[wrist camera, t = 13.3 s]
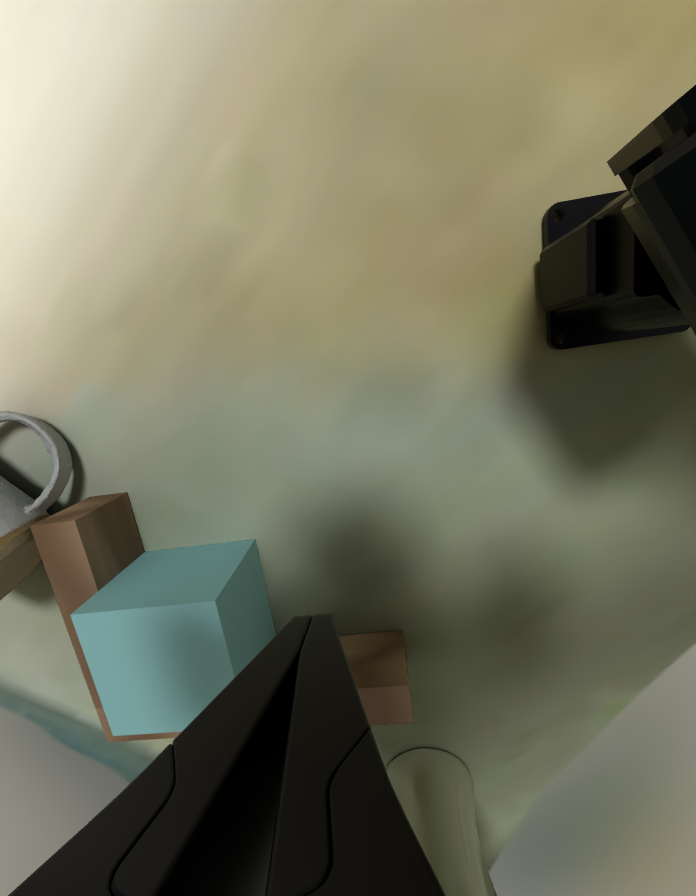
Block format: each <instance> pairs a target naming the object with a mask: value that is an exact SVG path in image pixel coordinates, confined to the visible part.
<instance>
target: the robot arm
mask: <svg viewBox="0 0 696 896" xmlns="http://www.w3.org/2000/svg"><path fill="white" fill-rule="evenodd" d="M607 163H608V165H609V167H610V168H611V170H612V172H613V173H614V175H615V176H616V175H618V174H619V176H620V178H621V179H622V181H623V183H624V184H625V186H626V188H627V190H624V191H618V192H613V193H607V194H602V195H596V196H591V197H585V198H580V199H574V200H569V201H563V202H558V203H556V204H554V205H553V206H551V207H550V208H549V209H548V210H547V211H546V213H545V214H544V219H543V224H544V250H543V251H542V252H541V254H540V275H541V306H542V308H543V309H544V310H545V311H546V323H547V343H548V346H549V347H550V348H552V349H554V350H561V349H568V348H575V347H582V346H588V345H595V344H602V343H609V342H615V341H622V340H629V339H636V338H642V337H649V336H656V335H663V334H669V333H676V332H682V331H685V330H687V329H688V328H690V327H691V328H692V330H693V332H694V333H695V335H696V85H695V86H694V87H692V88H691V89H690V90H689V91H688V92H686V93H685V94H684V95H683V96H682V97H681V98H679V99H678V100H677V101H676V102H675V103H673V104H672V105H671V106H670V107H669V108H668V109H666V110H665V111H664V112H663V113H662V114H661V115H659V116H658V117H657V118H656V119H655V120H654V121H652V122H651V123H650V124H649V125H648V126H647V127H646V128H645V129H643V130H642V131H641V132H640V133H639V134H638V135H637V136H636V137H634V138H633V139H632V140H631V141H630V142H629V143H628V144H627V145H625V146H624V147H623V148H622V149H621V150H620V151H619V152H618V153H616V154H615V155H614V156H613V157H612V158H611V159H610V160H609V161H607ZM553 212H558V213H559V214H560V220H559V221H556V220H555V219H554V218H553ZM678 325H679V326H678ZM559 334H560V335H561V336H562V337H563V340H562V342H561V343H560V344H558V343H557V342H556V337H557V336H558V335H559ZM8 896H446V895H445V893H444V891H443V889H442V887H441V885H440V883H439V881H438V879H437V877H436V875H435V873H434V871H433V869H432V867H431V865H430V863H429V861H428V859H427V857H426V855H425V853H424V851H423V849H422V847H421V845H420V843H419V841H418V839H417V837H416V835H415V833H414V831H413V829H412V827H411V825H410V823H409V821H408V819H407V817H406V815H405V813H404V810H403V808H402V806H401V804H400V802H399V800H398V797H397V795H396V793H395V791H394V789H393V787H392V784H391V782H390V780H389V777H388V774H387V772H386V769H385V767H384V764H383V761H382V759H381V756H380V754H379V751H378V748H377V745H376V742H375V739H374V736H373V734H372V732H371V728H370V725H369V722H368V719H367V716H366V713H365V710H364V707H363V704H362V701H361V698H360V696H359V693H358V690H357V687H356V684H355V681H354V678H353V675H352V672H351V669H350V666H349V663H348V660H347V657H346V654H345V652H344V649H343V646H342V643H341V640H340V637H339V634H338V631H337V628H336V625H335V622H334V619H333V616H332V615H331V614H330V613H327V614H316V615H314V616H313V617H312V616H311V615H305V616H296V617H294V618H292V619H291V620H290V621H289V622H288V623H287V624H286V626H285V627H284V628H283V629H282V630H281V631H280V632H279V633H278V634H277V635H276V636H275V637H274V638H273V639H272V640H271V641H270V642H269V643H268V644H267V645H266V646H265V647H264V648H263V649H262V650H261V651H260V652H259V653H258V654H257V655H256V656H255V657H254V658H253V659H252V660H251V661H250V662H249V663H248V664H247V665H246V666H245V667H244V669H243V670H242V671H241V672H240V673H239V674H238V675H237V676H236V677H235V678H234V679H233V680H232V681H231V682H230V683H229V684H228V685H227V686H226V687H225V688H224V689H223V690H222V691H221V692H220V693H219V694H218V695H217V696H216V697H215V698H214V699H213V700H212V701H211V702H210V703H209V704H208V705H207V706H206V707H205V708H204V709H203V710H202V712H201V713H200V714H199V715H198V716H197V717H196V718H195V719H194V720H193V721H192V722H191V723H190V724H189V725H188V726H187V727H186V728H185V729H184V730H183V731H182V732H181V733H180V734H179V735H178V736H177V737H176V738H175V739H174V740H173V745H172V744H169V745H168V746H167V747H166V748H165V749H164V750H163V751H162V752H161V753H160V754H159V755H158V756H157V757H156V758H155V759H154V760H153V761H152V762H151V764H149V765H148V766H147V767H146V768H145V769H144V770H143V771H142V772H141V773H140V774H139V775H138V776H137V777H136V778H135V779H134V780H133V781H132V782H131V783H130V784H129V785H128V786H127V787H126V788H125V789H124V790H123V791H122V792H121V793H120V794H119V795H118V796H117V797H116V798H115V799H114V800H113V801H112V802H110V803H109V804H108V805H107V806H106V807H105V808H104V809H103V810H102V811H101V812H100V813H99V814H98V815H96V816H95V817H94V818H93V819H92V820H91V821H90V822H89V823H88V824H87V825H86V826H85V827H84V828H83V829H81V830H80V831H79V832H78V833H77V834H76V835H75V836H74V837H73V838H71V839H70V840H69V841H68V842H67V843H66V844H65V845H64V846H62V847H61V848H60V849H59V850H58V851H57V852H56V853H55V854H54V855H53V856H51V857H50V858H49V859H48V860H47V861H46V862H45V863H44V864H43V865H41V866H40V867H39V868H38V869H37V870H36V871H35V872H34V873H33V874H32V875H30V877H28V878H27V879H26V880H25V881H24V882H23V883H22V884H21V885H19V886H18V887H17V888H16V889H15V890H14V891H13V892H12V893H11V894H9V895H8Z"/></svg>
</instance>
